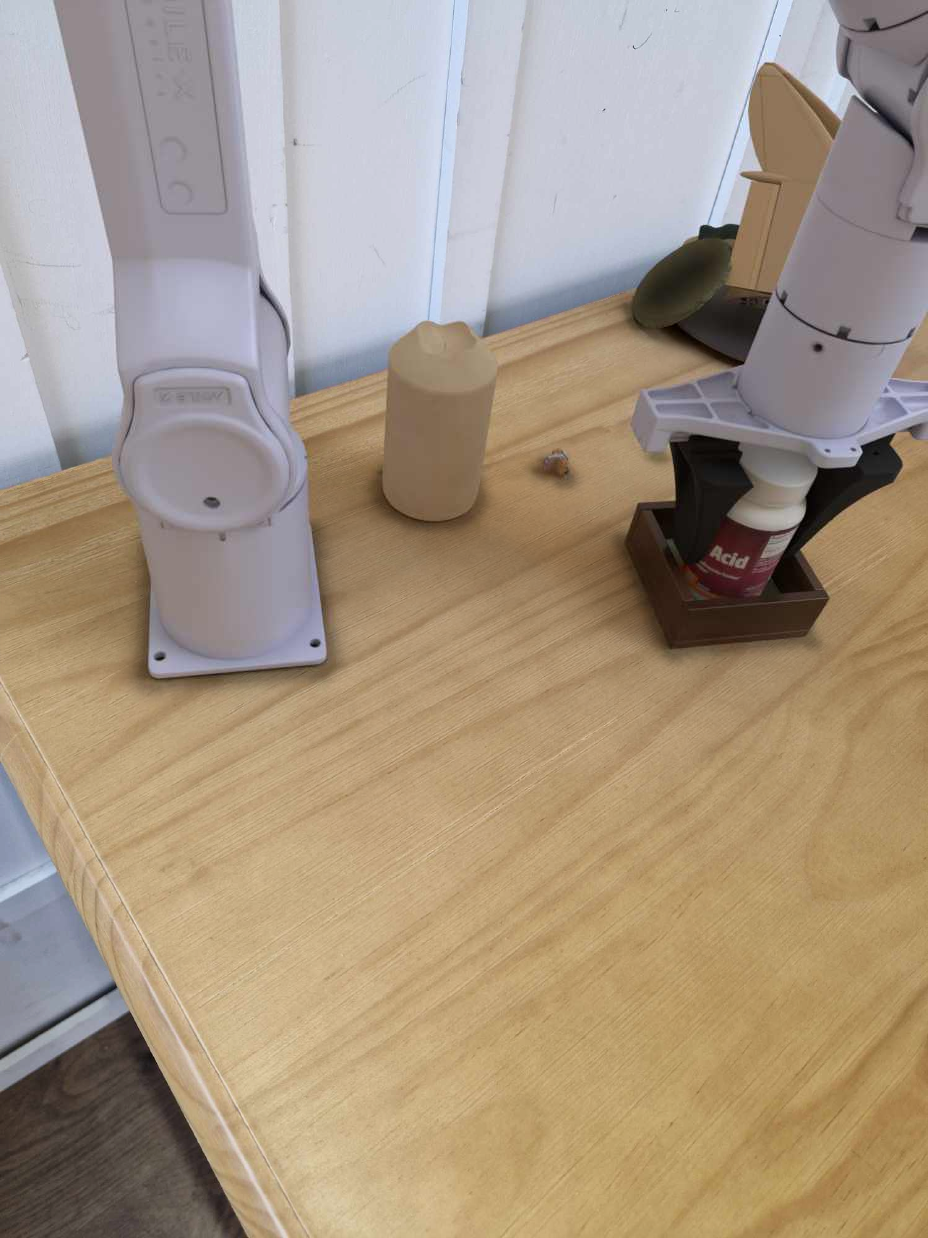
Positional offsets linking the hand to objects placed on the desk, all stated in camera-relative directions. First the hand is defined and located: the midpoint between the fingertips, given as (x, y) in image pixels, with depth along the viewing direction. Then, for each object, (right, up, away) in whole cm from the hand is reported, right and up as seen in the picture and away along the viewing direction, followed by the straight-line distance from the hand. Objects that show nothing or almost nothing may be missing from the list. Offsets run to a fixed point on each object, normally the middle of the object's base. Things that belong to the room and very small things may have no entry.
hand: (731, 547), depth 45 cm
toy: (+11, +20, +22) cm, 32 cm away
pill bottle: (0, -2, +2) cm, 3 cm away
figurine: (-6, +6, +8) cm, 12 cm away
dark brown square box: (0, -2, +2) cm, 3 cm away
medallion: (+2, +21, +18) cm, 28 cm away
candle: (-16, +4, +5) cm, 17 cm away
